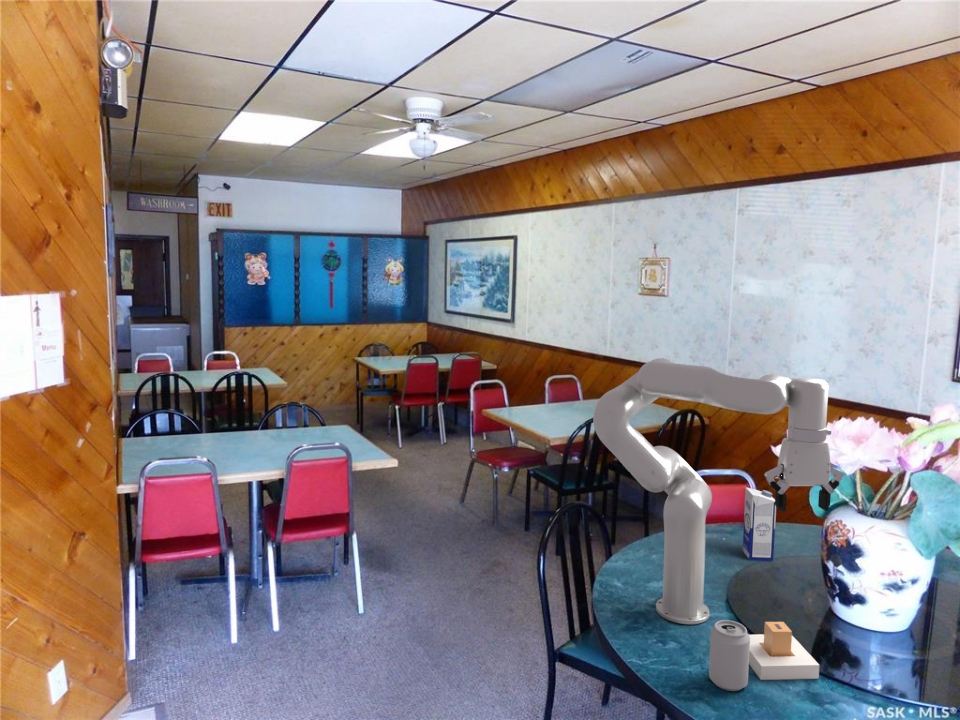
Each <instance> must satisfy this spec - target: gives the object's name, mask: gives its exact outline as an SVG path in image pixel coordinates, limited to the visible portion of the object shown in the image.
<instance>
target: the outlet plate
mask: <svg viewBox="0 0 960 720" xmlns="http://www.w3.org/2000/svg"><path fill="white" fill-rule="evenodd" d="M749 636H750V650H749V666H750V668H752V670H753V671H754V673H755V674H756V675H757V677H758V678H759V680H761V681H763V680H764V681H770V680H774V681H775V680H778V681H779V680H818V679H819V677H820V664H819V663H818V662H817V661H816V659H815V658H814V657H813V656H812V655H811V654H810V653H809V652H808V651H807V650H806V648H804V647H803V645H802V644H801V643H800V641H798V640H797V639H796V638H795V637H794V636H793V635H792V642H791V656H783V657H770V656H769V655H768V653H767V652H766V651H765V650H764V649H763V646H764V633H763V634H762V633H761V634H760V633H759V634H749Z"/></svg>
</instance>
